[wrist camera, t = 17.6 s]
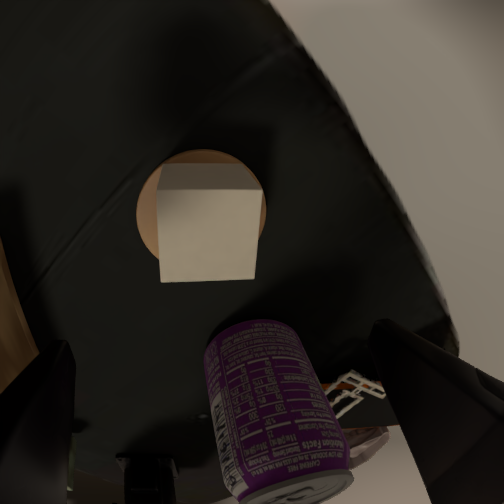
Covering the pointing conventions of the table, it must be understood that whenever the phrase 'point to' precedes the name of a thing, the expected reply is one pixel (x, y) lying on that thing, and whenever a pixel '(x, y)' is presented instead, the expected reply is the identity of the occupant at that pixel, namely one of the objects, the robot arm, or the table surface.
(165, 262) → the block
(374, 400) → the smartphone
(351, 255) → the table surface
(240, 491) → the beverage can
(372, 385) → the model
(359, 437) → the dental mold
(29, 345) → the cabinet
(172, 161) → the coaster
